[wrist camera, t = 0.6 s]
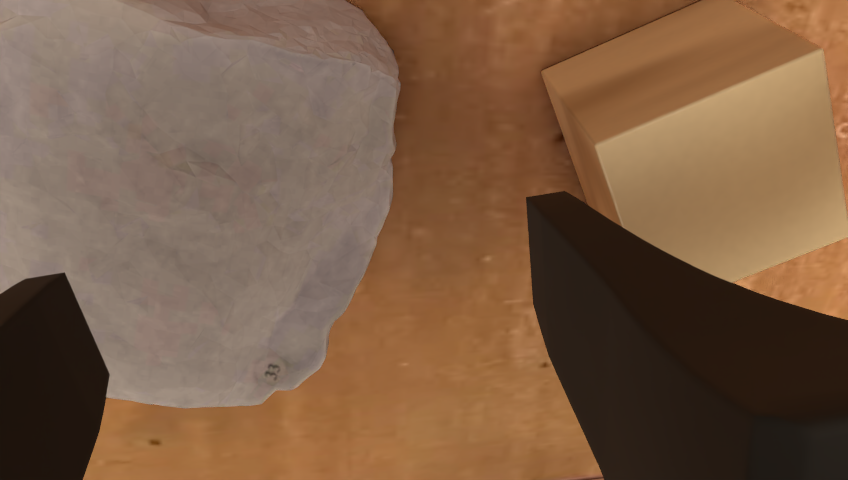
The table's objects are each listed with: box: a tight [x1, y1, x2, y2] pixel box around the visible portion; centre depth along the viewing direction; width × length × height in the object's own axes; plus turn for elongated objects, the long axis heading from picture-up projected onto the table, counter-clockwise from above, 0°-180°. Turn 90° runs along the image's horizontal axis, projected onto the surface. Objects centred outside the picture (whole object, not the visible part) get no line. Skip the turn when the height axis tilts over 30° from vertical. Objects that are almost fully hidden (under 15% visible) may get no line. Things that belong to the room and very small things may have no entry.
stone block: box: [0, 0, 401, 408], centre depth 20 cm, size 12×5×10 cm
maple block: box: [541, 0, 848, 283], centre depth 19 cm, size 5×5×5 cm
